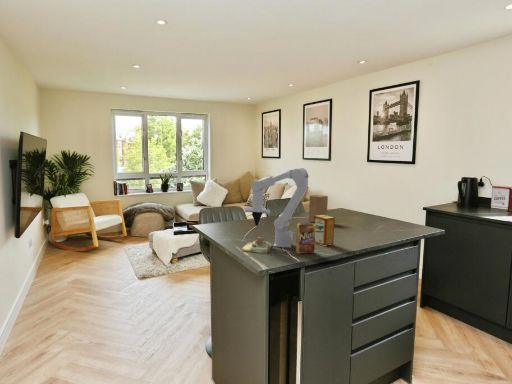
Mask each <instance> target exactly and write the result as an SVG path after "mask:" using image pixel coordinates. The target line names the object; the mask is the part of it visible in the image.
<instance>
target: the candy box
mask: <svg viewBox="0 0 512 384" xmlns="http://www.w3.org/2000/svg"><path fill="white" fill-rule="evenodd" d="M296 226H297V227H296V245H295V252H296V254H297V255H298V254H301V253H314V254H315V244H316V243H315V230H316V225H315V224H314V223H311V222H308V223H307V222H303V223H302V222H297V225H296Z"/></svg>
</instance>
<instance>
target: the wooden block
mask: <svg viewBox="0 0 512 384" xmlns="http://www.w3.org/2000/svg"><path fill="white" fill-rule="evenodd" d="M328 200H329V197H328V195H324V194H323V195H322V194H312V195H309V202H308V203H309V204H308V205H309V206H308V223H311V222H314V216H317V215H327V216H328V203H329V201H328Z"/></svg>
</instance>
